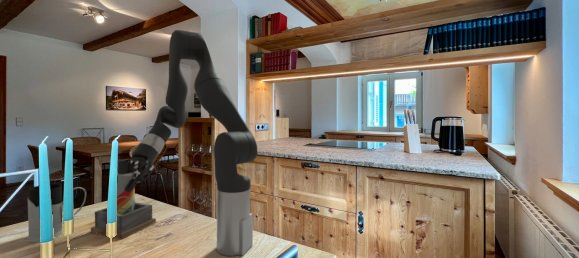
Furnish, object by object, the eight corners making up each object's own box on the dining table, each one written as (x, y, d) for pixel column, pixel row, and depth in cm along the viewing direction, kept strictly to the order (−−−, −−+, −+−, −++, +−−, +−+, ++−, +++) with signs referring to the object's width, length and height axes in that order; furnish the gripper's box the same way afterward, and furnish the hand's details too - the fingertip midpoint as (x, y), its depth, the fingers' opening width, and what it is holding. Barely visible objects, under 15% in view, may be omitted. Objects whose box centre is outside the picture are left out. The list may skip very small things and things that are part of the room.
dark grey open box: (155, 222, 92) (155, 204, 92) (122, 239, 80) (121, 217, 80) (127, 217, 96) (126, 200, 96) (90, 232, 84) (90, 212, 84)
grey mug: (28, 234, 82) (26, 186, 81) (86, 223, 91) (85, 179, 90) (24, 245, 75) (23, 193, 75) (87, 231, 84) (86, 185, 84)
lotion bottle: (125, 223, 85) (124, 161, 84) (110, 221, 86) (109, 160, 85) (139, 216, 90) (138, 158, 89) (124, 214, 92) (123, 157, 90)
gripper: (127, 141, 96) (95, 182, 85) (159, 143, 92) (129, 186, 81) (139, 154, 101) (110, 193, 91) (170, 156, 97) (144, 198, 86)
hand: (119, 189), depth 86 cm, fingers closed on lotion bottle, 5 cm apart
